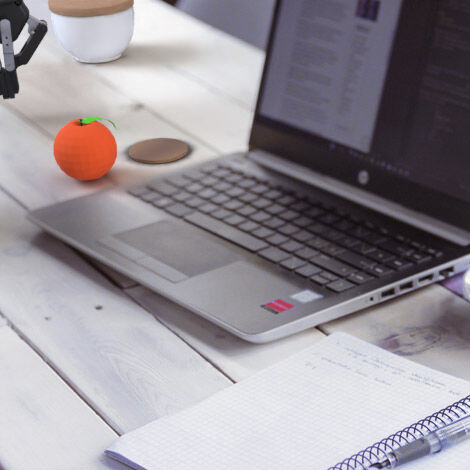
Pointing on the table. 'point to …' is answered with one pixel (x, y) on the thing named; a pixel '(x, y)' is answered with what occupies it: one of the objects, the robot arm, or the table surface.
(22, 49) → the robot arm
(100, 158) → the clementine
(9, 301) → the table surface
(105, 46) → the lidded bowl
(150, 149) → the cork coaster
